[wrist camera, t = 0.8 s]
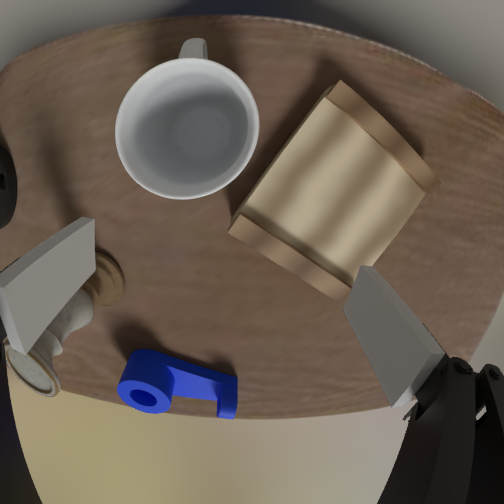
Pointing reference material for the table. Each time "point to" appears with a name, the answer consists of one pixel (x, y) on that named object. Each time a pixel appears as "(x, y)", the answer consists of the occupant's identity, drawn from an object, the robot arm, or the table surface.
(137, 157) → the mug
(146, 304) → the table surface
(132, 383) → the bracket
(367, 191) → the wooden tray
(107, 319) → the table surface
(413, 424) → the robot arm
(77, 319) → the candle holder
